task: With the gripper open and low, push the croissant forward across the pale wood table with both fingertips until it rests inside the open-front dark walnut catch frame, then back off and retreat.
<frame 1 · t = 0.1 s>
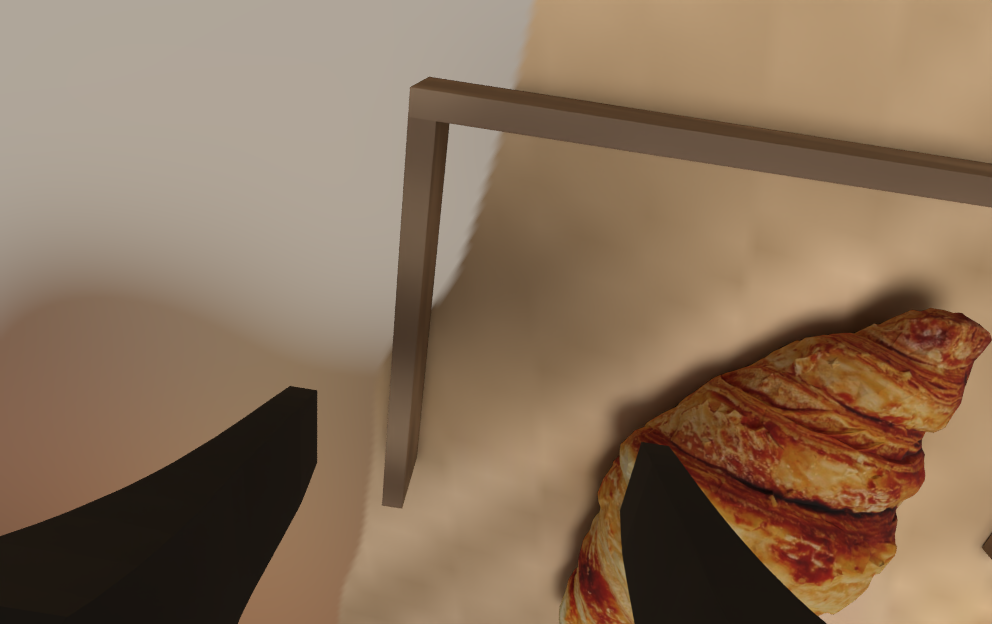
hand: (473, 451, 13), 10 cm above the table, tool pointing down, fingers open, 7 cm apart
catch frame: (759, 348, 23), on the table
croissant: (710, 462, 26), on the table
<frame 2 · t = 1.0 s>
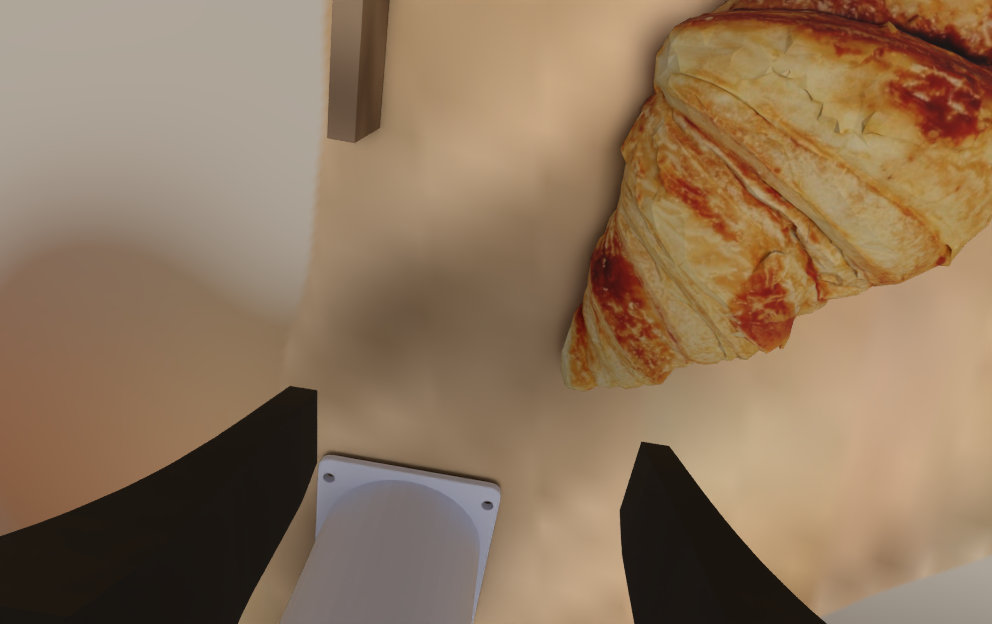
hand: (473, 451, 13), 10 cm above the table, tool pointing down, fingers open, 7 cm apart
croissant: (765, 135, 20), on the table
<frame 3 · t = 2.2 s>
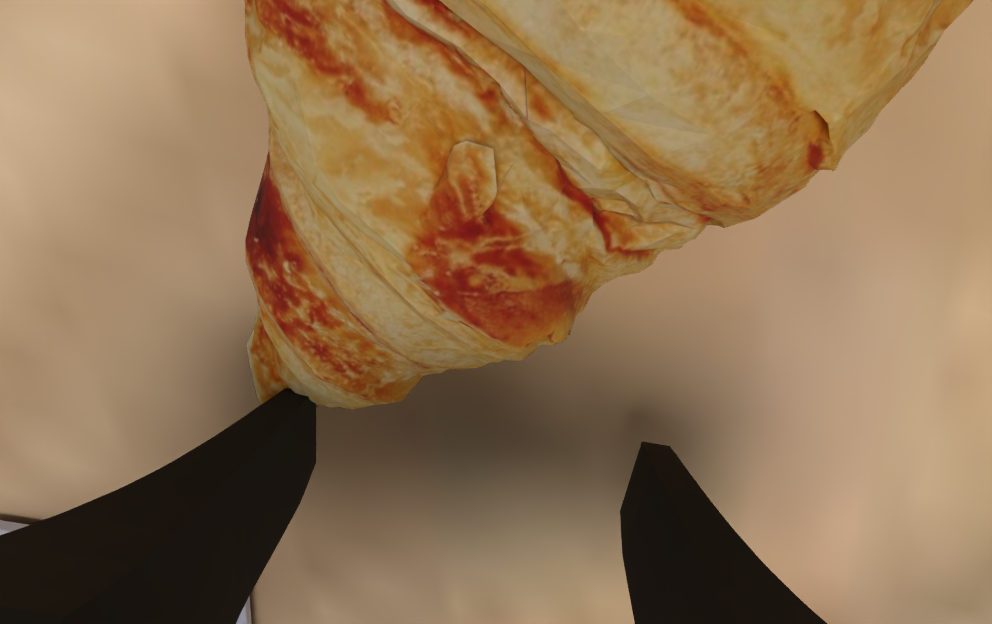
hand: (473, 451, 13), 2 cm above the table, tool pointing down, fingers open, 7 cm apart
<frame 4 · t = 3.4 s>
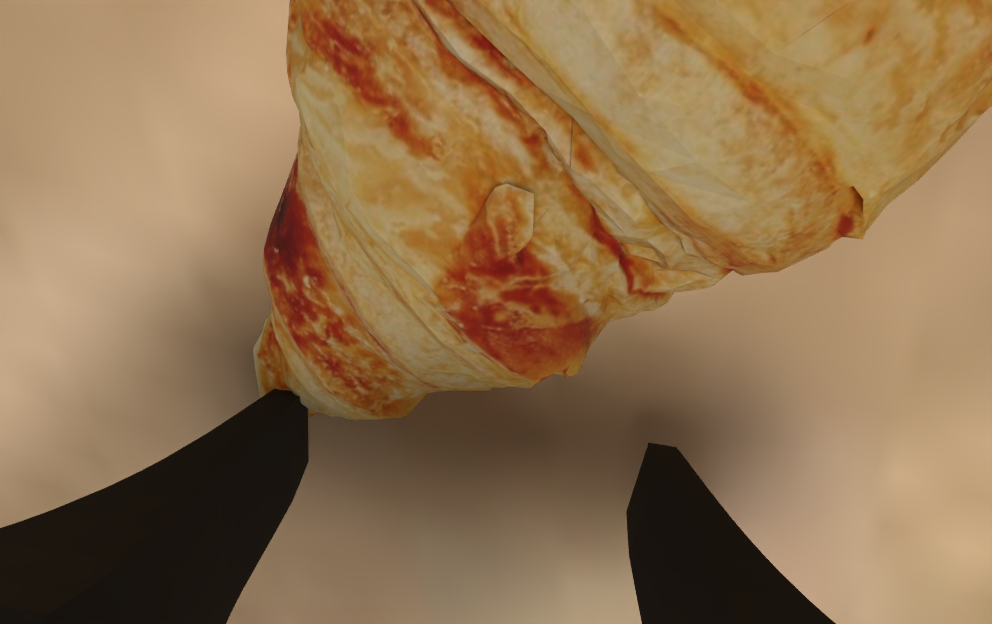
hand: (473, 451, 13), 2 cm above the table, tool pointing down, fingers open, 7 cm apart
croissant: (594, 6, 11), on the table, touching gripper
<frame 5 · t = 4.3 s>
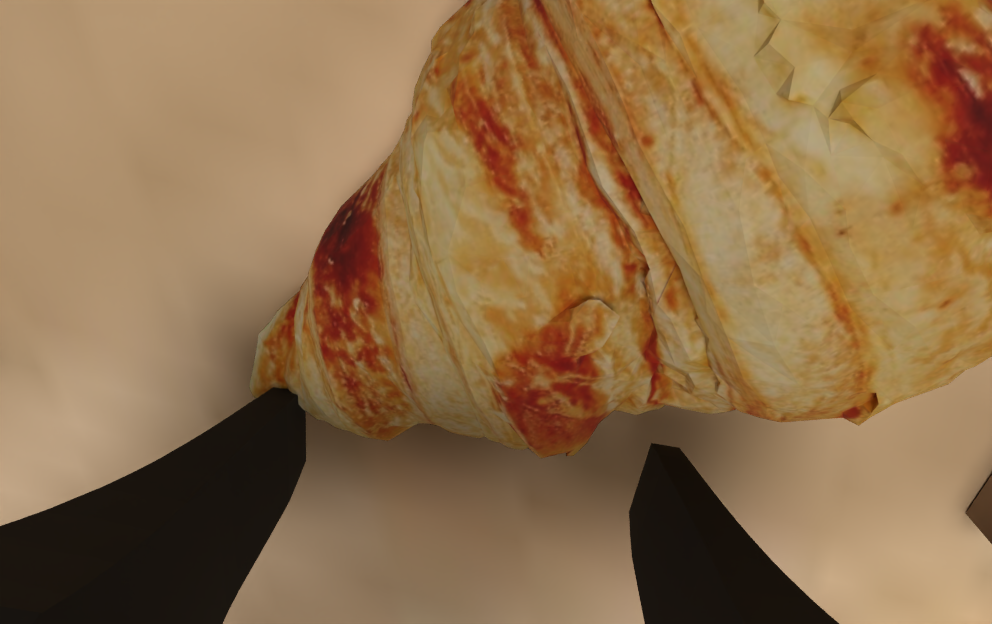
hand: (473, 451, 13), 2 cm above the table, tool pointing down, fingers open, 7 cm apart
catch frame: (527, 112, 12), on the table
croissant: (675, 125, 12), on the table, touching gripper
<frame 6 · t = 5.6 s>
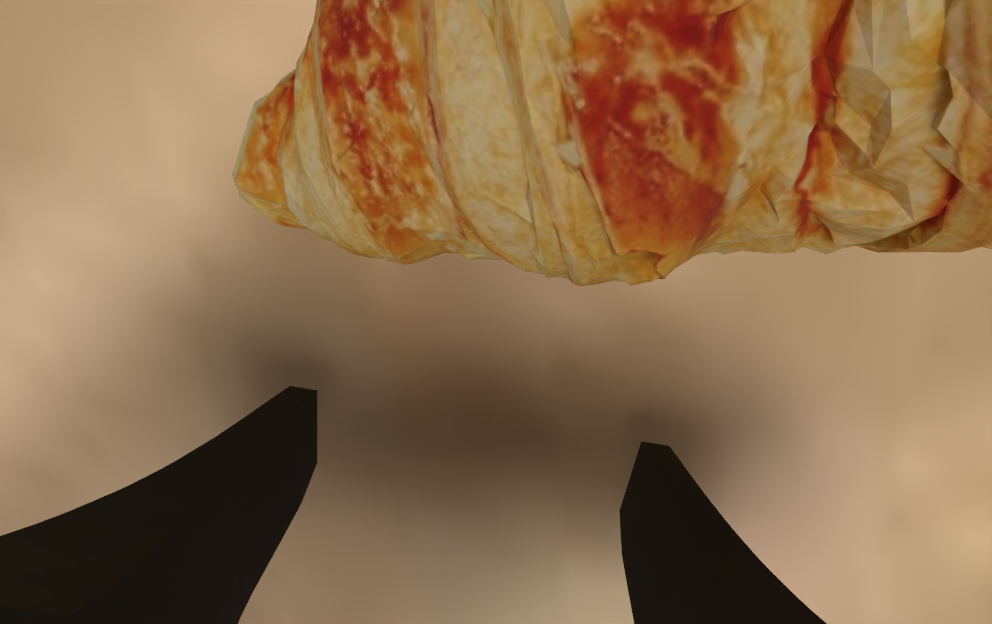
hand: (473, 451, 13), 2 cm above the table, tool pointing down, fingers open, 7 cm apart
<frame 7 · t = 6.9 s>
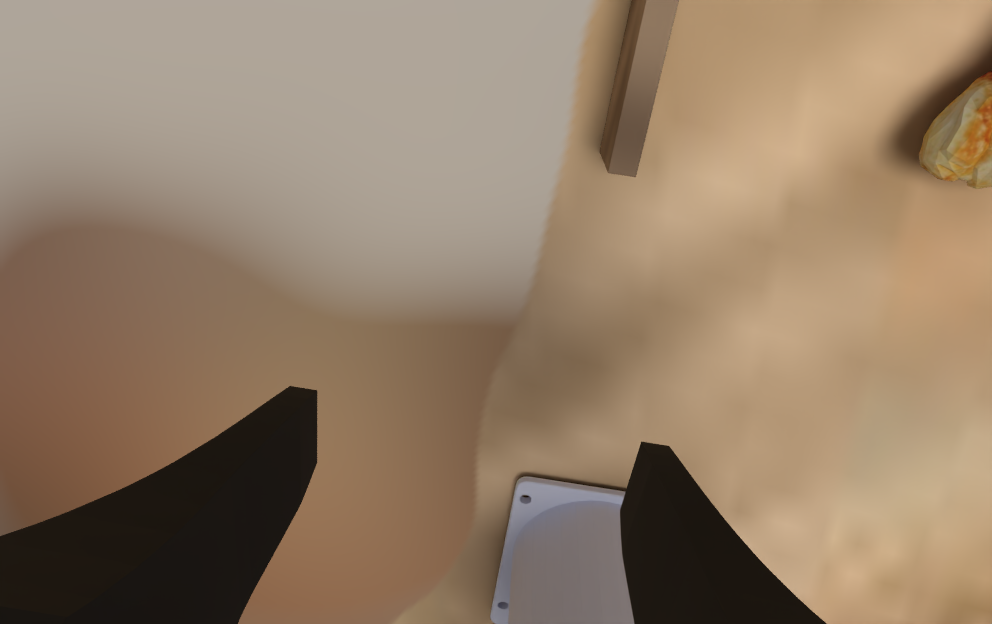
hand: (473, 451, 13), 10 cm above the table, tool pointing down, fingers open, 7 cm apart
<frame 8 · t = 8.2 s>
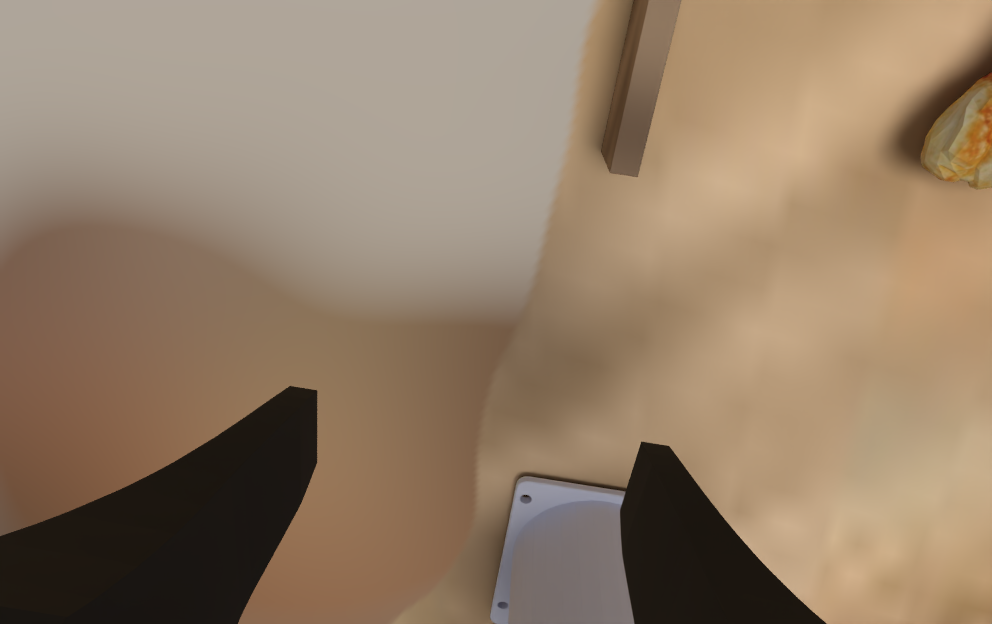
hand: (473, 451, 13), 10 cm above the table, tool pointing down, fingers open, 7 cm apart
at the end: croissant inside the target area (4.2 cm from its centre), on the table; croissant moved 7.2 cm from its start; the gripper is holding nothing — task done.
